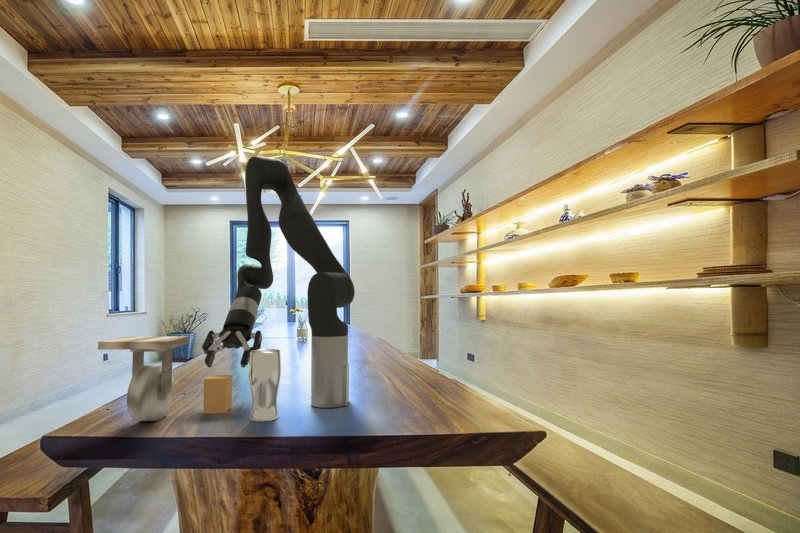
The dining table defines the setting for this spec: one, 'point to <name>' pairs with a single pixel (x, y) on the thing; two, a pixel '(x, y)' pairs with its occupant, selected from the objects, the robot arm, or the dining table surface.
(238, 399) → the dining table surface
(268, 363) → the beer glass
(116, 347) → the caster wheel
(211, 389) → the orange tan block
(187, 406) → the dining table surface
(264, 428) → the dining table surface
